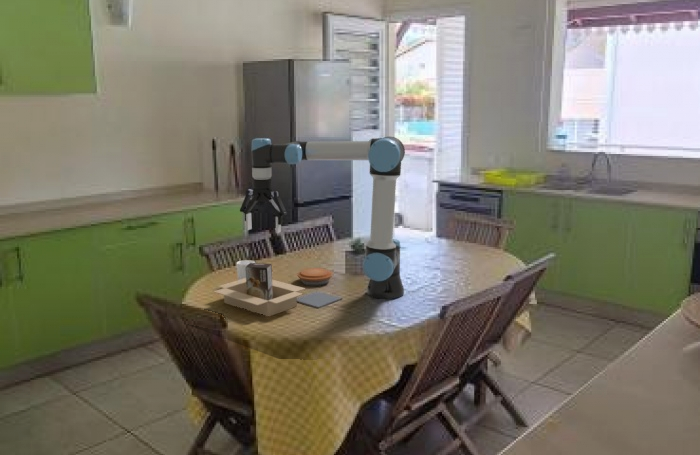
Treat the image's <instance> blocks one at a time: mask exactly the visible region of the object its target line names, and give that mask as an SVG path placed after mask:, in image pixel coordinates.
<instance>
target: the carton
mask: <svg viewBox="0 0 700 455" xmlns="http://www.w3.org/2000/svg"><path fill="white" fill-rule="evenodd" d="M218 288H221V289H217V290H214V291H213V293H216V294H218V295H222V296H223V300H224V302H223V303H225V304H227V305H230V306H233V307H236V306H237V308H239V307H240V308H239V309H242V308H244V309H243V310H245V309H247V310H246V311H249V310H250V311H249V312H252V311H253V312H252V313H255V312H257V313H256V314H258V313H260V314H259V315H261V314H263V315H262V316H264V315H266V316H265V317H267V316H269V317H271V315H272V316H274V315H277V314H280V313H282V312H285V311H288V310H290V309H293V308H296V307H298V302H297V298H299V297H301V296H304V294H303V293H302V292H301V291H305V290H306V288H305V287H302V286H297V285H294V284H290V283H287V282H283V281H278V280H275V279H272V289H273V299H271V300H268V301H267V300H264V299H261V298H257V297H254V296H250V295H247V288H246V278H244V279H240V280H238V279H237V280H234V281H231V282H227V283H224V284H221V285H218Z"/></svg>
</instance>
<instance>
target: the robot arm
mask: <svg viewBox="0 0 700 455" xmlns="http://www.w3.org/2000/svg"><path fill="white" fill-rule="evenodd" d="M250 151H251V165H252V166H251V171H252V172H251V174H252V178H253V179H252V188H253V189H252V188H248V189H246V191H245V197H244V199H243V201H242V204H241V206H240V208H239V212H240V213H243V214H244V221H245V222H246V223H245V224H246V230H247V231H250V230H252V229H253V227H252V225H253V224H252V212H251V211H252V209H253V208H254V206H256V204H257V203H258V202H263V203H267V204H268V205H269V206H270V208H271V210H273V212H274V213H275V215H276V216H275V234H279V233H281V232H282V225H283V223H284V222H283V220H284V219H283V217H284V216H286V215H287V214H288V212H287V210H286V208H285V205H284V203H283V201H282V198H281V197H280V191H279V190H276V191H275V190H274V191H273V190H272V189H273V179H272V178H271V177H273V176H272V170H273V169H272V164H286V165H288V164H289V165H297V164H300V163H301V161H368V162H369V175H370V176H371V177H372V179H373V181H372V198H371V218H370V235H369V236H370V238H369V240H368V241H367V242H366V243H365V256H364V259H363V262H362V270H363V272H364V275H366V277H367V278H368V279H369V282H368V285H367V290H366V291H367V292H366V293H367V295H368V296H370V297H372V298H375V299H380V300H391V299H398V298H401V297H402V296H404V294H405V288H404V285H403V282H402V278H401V272H400V271H401V248H402V247H401V242H400V240H399V239H395V238H393V237H394V225H395V224H394V222H395V220H394V219H395V202H396V189H397V187H396V186H397V179H398V178H399V177H401V170H402V161H403V160H404V158H405V153H406V149H405V146H404V144H403V142H402V141H401V140H400V139H399V138H397V137H395V136H385V137H379V138H373V137H372V138H370V139H369V140H355V141H354V140H348V141H347V140H345V141H344V140H343V141H342V140H341V141H340V140H339V141H336V140H335V141H330V140H329V141H327V140H326V141H323V140H322V141H320V140H319V141H318V140H317V141H303V140H302V141H301V140H295V141H292V142H287V143H272V141H271V138H266V137H264V138H263V137H262V138H261V137H260V138H253V139H252V140H251V150H250ZM252 196H254V197H253V198H252Z"/></svg>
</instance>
